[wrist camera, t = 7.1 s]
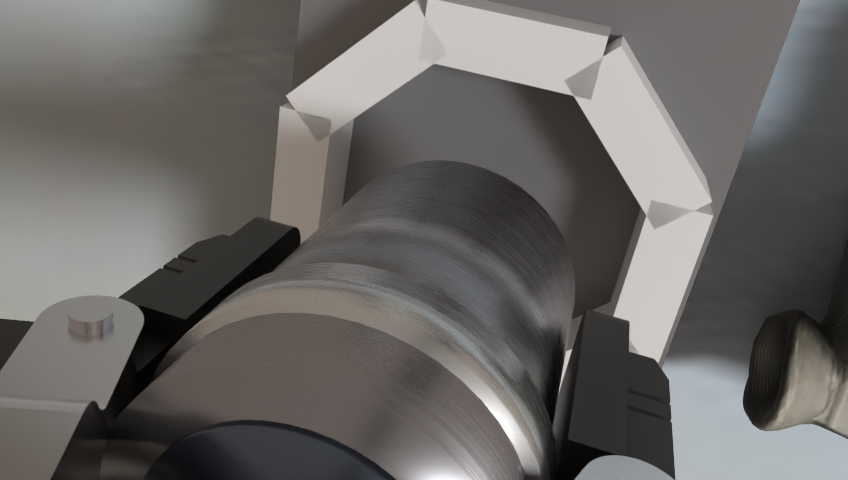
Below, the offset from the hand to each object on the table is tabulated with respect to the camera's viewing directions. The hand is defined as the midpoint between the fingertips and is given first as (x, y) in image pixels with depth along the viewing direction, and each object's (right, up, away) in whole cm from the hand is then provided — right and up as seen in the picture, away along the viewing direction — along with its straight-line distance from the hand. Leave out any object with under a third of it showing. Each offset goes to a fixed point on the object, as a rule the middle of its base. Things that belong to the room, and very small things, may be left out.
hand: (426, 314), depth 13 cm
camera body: (+3, +4, +9) cm, 10 cm away
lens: (0, +1, +1) cm, 2 cm away
